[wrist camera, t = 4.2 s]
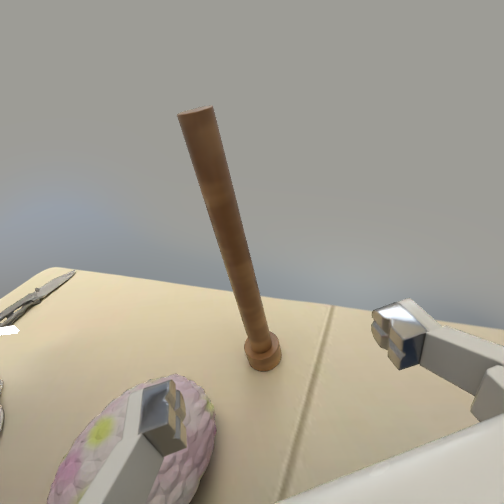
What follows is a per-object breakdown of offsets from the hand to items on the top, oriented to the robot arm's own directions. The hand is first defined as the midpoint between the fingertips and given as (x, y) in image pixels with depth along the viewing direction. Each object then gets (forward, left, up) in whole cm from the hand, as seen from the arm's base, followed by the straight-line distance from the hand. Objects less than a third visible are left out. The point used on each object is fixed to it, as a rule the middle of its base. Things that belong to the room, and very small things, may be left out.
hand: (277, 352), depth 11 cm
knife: (-42, +23, -16) cm, 51 cm away
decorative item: (-12, +1, -16) cm, 20 cm away
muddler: (-4, +11, -16) cm, 20 cm away
